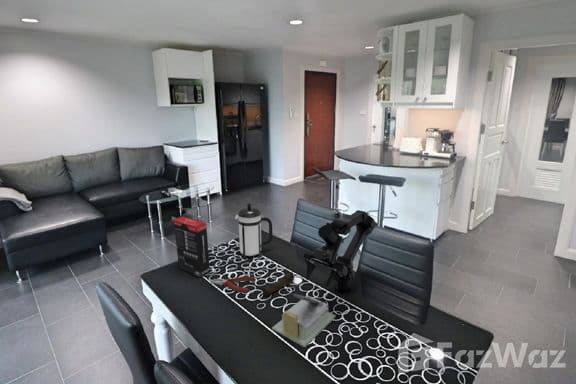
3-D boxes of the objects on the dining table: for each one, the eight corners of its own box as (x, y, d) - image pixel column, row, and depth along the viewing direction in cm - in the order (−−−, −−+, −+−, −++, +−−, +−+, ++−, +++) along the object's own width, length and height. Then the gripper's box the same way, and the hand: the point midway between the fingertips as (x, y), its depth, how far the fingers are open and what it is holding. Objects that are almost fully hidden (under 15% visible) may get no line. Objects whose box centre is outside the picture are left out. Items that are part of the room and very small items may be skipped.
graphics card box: (211, 272, 159) (207, 221, 152) (200, 278, 153) (196, 226, 146) (188, 263, 168) (183, 215, 161) (177, 269, 162) (172, 219, 155)
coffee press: (254, 263, 168) (252, 209, 160) (231, 255, 176) (229, 204, 169) (273, 251, 182) (272, 201, 174) (251, 244, 190) (250, 197, 183)
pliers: (216, 276, 156) (216, 272, 155) (255, 281, 152) (255, 276, 151) (206, 289, 145) (205, 284, 144) (247, 294, 141) (247, 289, 140)
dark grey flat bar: (310, 300, 126) (311, 298, 126) (318, 304, 124) (319, 302, 124) (292, 295, 115) (293, 293, 116) (301, 299, 113) (302, 297, 113)
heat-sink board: (304, 302, 134) (305, 284, 132) (335, 317, 125) (336, 297, 123) (272, 329, 118) (271, 308, 116) (304, 347, 109) (305, 325, 107)
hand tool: (267, 298, 138) (267, 289, 136) (261, 294, 140) (261, 285, 139) (297, 282, 150) (298, 273, 149) (292, 279, 153) (292, 270, 152)
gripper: (304, 234, 129) (288, 269, 124) (344, 246, 118) (328, 285, 113) (315, 244, 137) (300, 278, 133) (354, 257, 126) (339, 294, 121)
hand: (316, 283), depth 125 cm, fingers open, 9 cm apart
